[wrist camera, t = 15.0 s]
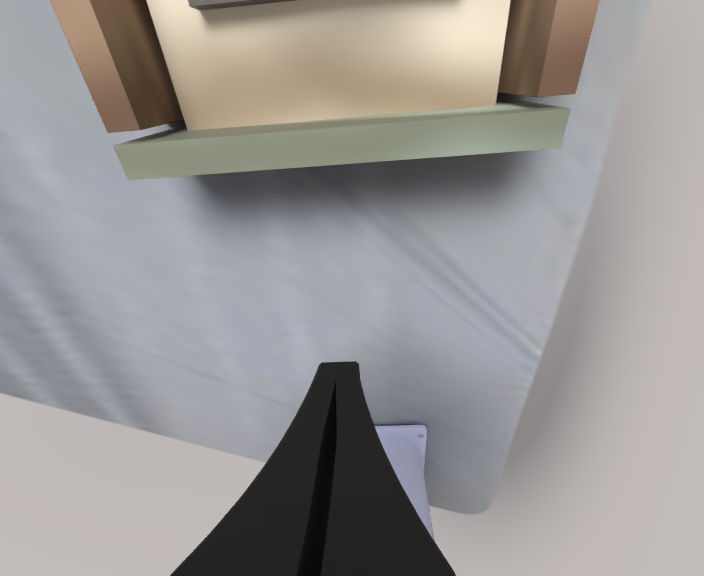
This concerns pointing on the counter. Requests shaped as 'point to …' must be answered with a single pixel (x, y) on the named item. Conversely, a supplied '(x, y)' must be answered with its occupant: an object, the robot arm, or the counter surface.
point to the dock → (161, 100)
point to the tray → (334, 85)
